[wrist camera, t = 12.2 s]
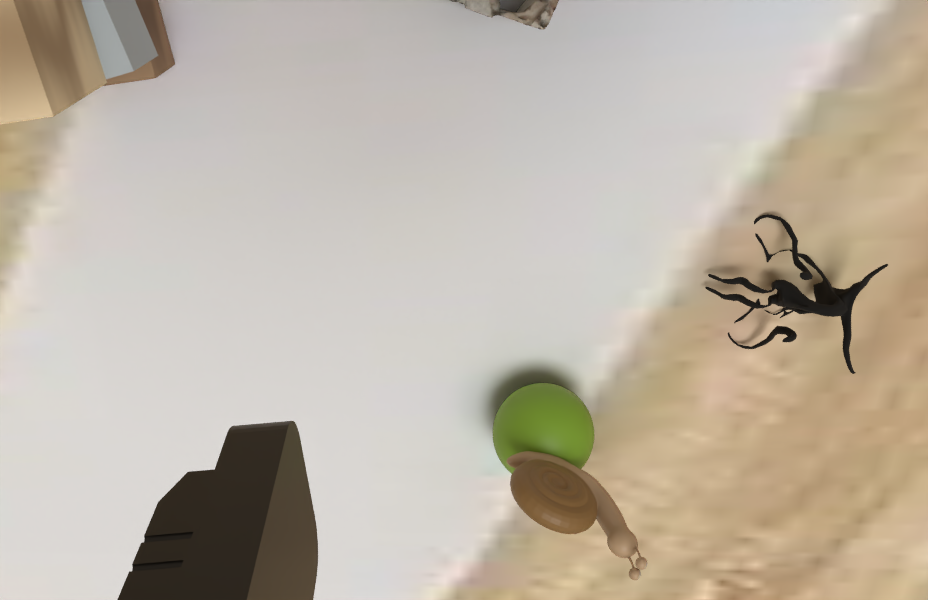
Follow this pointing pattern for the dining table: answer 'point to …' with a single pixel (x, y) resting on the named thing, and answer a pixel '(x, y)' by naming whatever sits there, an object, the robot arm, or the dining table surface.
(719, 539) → the dining table surface
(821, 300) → the creature
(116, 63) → the tower top
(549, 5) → the grey stone ruin model
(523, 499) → the snail figurine
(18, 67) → the oak cube
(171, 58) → the tower base
